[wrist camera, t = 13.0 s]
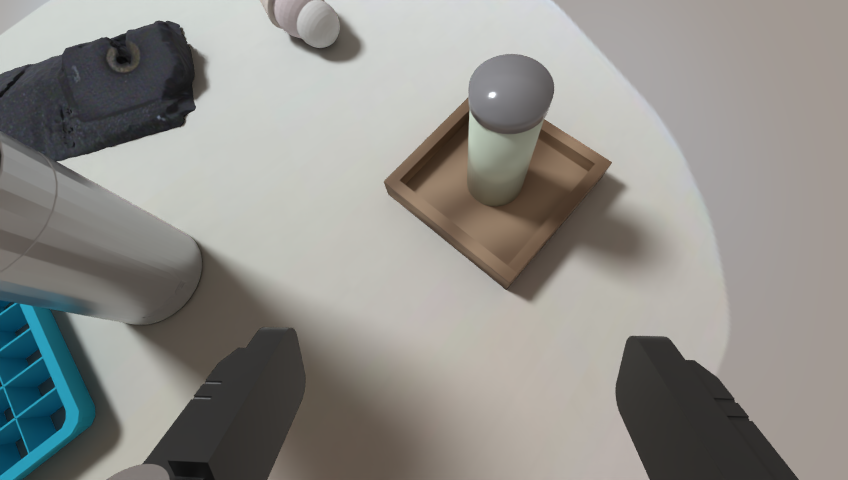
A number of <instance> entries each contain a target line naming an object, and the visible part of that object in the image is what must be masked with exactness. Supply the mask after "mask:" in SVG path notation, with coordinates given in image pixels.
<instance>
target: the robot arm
mask: <svg viewBox="0 0 848 480" xmlns="http://www.w3.org/2000/svg"><path fill="white" fill-rule="evenodd" d="M201 270H202V257H201V253H200V249H199V248H198V246H197V244H196V242H195V241H194V240H193V239H192V238H191V237H190V236H189V235H188V234H186V233H184V232H183V231H181V230H179V229H177V228H175V227H174V226H172V225H170V224H168V223H166V222H165V221H163V220H161V219H159V218H158V217H156V216H154V215H152V214H150V213H149V212H147V211H145V210H143V209H141V208H140V207H138V206H136V205H134V204H132V203H130V202H129V201H127V200H125V199H123V198H121V197H120V196H118V195H116V194H114V193H112V192H110V191H109V190H107V189H105V188H103V187H101V186H100V185H98V184H96V183H94V182H92V181H91V180H89V179H87V178H85V177H83V176H81V175H80V174H78V173H76V172H74V171H72V170H71V169H69V168H67V167H65V166H63V165H61V164H60V163H58V162H56V161H54V160H52V159H51V158H49V157H47V156H45V155H43V154H42V153H40V152H37V151H36V150H34V149H32V148H30V147H28V146H26V145H25V144H23V143H21V142H19V141H17V140H16V139H14V138H12V137H10V136H8V135H6V134H5V133H3V132H1V131H0V300H3V301H8V302H14V303H19V304H25V305H30V306H36V307H41V308H47V309H52V310H58V311H63V312H69V313H74V314H80V315H85V316H91V317H95V318H101V319H106V320H112V321H117V322H123V323H128V324H136V325H147V324H153V323H156V322H159V321H162V320H164V319H166V318H168V317H169V316H171V315H173V314H174V313H175V312H177V311H178V310H179V309H180V308H182V307H183V305H184V304H185V303H186V302H187V301H188V300H189V299H190V297H191V296H192V294H193V292H194V291H195V289H196V287H197V285H198V282H199V280H200V276H201ZM304 390H305V371H304V367H303V362H302V357H301V352H300V348H299V343H298V338H297V334H296V331H295V330H294V329H293V328H274V327H262V328H260V329H259V330H258V331H257V333H256V334H255V336H254V337H253V339H252V340H251V341H250V343H249V344H248V346H247V347H246V348H238V349H236V350H235V351H234V352H232V353H231V354H230V355H228V356H227V357H226V358H224V359H223V360H222V361H221V362H219V363H218V365H217V366H216V367H215V369H214V370H213V371H212V373H211V374H210V375H209V377H208V378H207V379H206V382H205V384H203V385H202V386H201V387H200V389H199V390H198V391H197V392H196V394H195V395H194V399H193V400H190V402H189V403H188V404H187V406H186V407H185V408H184V410H183V411H182V412H181V414H180V415H179V416H178V418H177V419H176V420H175V422H174V423H173V424H172V426H171V427H170V428H169V430H168V431H167V432H166V434H165V435H164V436H163V438H162V439H161V440H160V442H159V443H158V444H157V446H156V447H155V448H154V450H153V451H152V452H151V454H150V455H149V456H148V458H147V459H146V460H145V461H144V463H143V464H142V465H137V466H133V467H130V468H128V469H125V470H123V471H121V472H119V473H117V474H115V475H113V476H111V477H110V478H108V479H107V480H267V479H268V477H269V474H270V472H271V470H272V467H273V465H274V463H275V460H276V458H277V456H278V454H279V451H280V449H281V447H282V444H283V442H284V440H285V438H286V435H287V433H288V431H289V428H290V426H291V424H292V422H293V419H294V417H295V415H296V412H297V410H298V408H299V405H300V403H301V401H302V398H303V395H304ZM616 401H617V406H618V409H619V412H620V415H621V417H622V419H623V421H624V423H625V426H626V428H627V430H628V432H629V434H630V437H631V439H632V441H633V443H634V446H635V448H636V450H637V452H638V454H639V457H640V459H641V461H642V463H643V466H644V468H645V470H646V472H647V474H648V477H649V479H650V480H799V479H798V478H797V477H796V476H795V474H794V473H793V472H792V471H791V469H790V468H789V467H788V465H787V464H786V463H785V462H784V460H783V459H782V458H781V457H780V456H779V454H778V453H777V452H776V450H775V449H774V448H773V447H772V445H771V444H770V443H769V442H768V441H767V439H766V438H765V437H764V435H763V434H762V433H761V432H760V430H759V429H758V428H757V426H756V425H755V424H754V423H753V422H752V421H749V419H748V417H749V416H748V415H747V414H746V413H745V411H744V410H743V409H742V408H741V407H740V405H739V404H738V403H735V401H734V398H733V397H732V395H731V394H730V393H729V391H728V390H727V389H726V388H725V386H724V385H723V384H722V383H721V381H720V380H719V379H718V378H717V377H716V376H715V375H713V374H712V373H711V372H709V371H708V370H707V369H705V368H704V367H703V366H701V365H700V364H699V363H697V362H696V361H695V360H685V359H684V357H683V356H682V355H681V353H680V352H679V351H678V349H677V348H676V347H675V345H674V344H673V343H672V341H671V340H670V339H669V338H667V337H663V336H630V337H629V338H628V339H627V341H626V345H625V349H624V353H623V357H622V361H621V365H620V370H619V374H618V378H617V382H616Z"/></svg>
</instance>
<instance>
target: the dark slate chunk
mask: <svg viewBox="0 0 848 480" xmlns="http://www.w3.org/2000/svg"><path fill="white" fill-rule="evenodd" d="M179 27H180V25H179V24H176V23H173V22H170V21H166V22H163V21H156V22H155V23H154V24H150V25H147V26H143V27H141V28H138V29H135V30H128V31H127V33H125V34H121V35H119V36H116V37H114V38H111V39H109V38H108V37H105V38H100V39H97V40H95V41H92V42H88V43H83V44H79V45H75V46H72V47H69V48H66V49H65V51H64V53H63V54H62V55H59V56H55V57H51V58H49V59H47V60H44V61H42V62H40V63H37V64H29V65H25V66H22V67H18V68H15V69H13V70H11V71H7V72H4V73H2V74H0V131H1V132H3V133H5V134H6V135H8V136H10V137H12V138H14V139H16V140H17V141H19V142H21V143H23V144H25V145H26V146H28V147H30V148H32V149H34V150H36V151H37V152H40V153H42V154H43V155H45V156H47V157H49V158H51V159H52V160H54V161H62V160H65V159H67V158H72V157H77V156H80V155H84V154H89V153H91V152H96V151H99V150H102V149H104V148H106V147H112V146H115V145H118V144H123V143H126V142H128V141H131V140H135V139H139V138H142V137H144V136H148V135H152V134H155V133H158V132H163V131H167V130H170V129H172V128H176V127H180V126H181V125H182V123H183V122H184V119H183V116H184V115H187V114H188V113H189V112H191V111H194V110H195V108H196V106H195V104H194V101H193V91H192V82H193V79H194V65H193V60H192V54H191V50H190V48H189V46H188V45H187V41H185V40H184V35H182V34H181V29H180V28H179Z"/></svg>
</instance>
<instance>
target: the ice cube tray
mask: <svg viewBox="0 0 848 480" xmlns="http://www.w3.org/2000/svg"><path fill="white" fill-rule="evenodd" d="M10 303H11V302H8V301H3V300H0V381H1V384H2V387H0V480H22V479H23V478H25V477H26V476H27V475H29V474H30V473H31V472H32V471H34V470H35V469H36V468H37V467H39V466H40V465H41V464H43V463H44V462H45V461H46V460H48V459H49V458H50V457H51V456H53V455H54V454H55V453H57V452H58V451H59V450H60V449H62V448H63V447H64V446H65V445H67V444H68V443H69V442H71V441H72V440H73V439H74V438H76V437H77V436H78V435H80V434H81V433H82V432H83V431H85V430H86V429H87V428H88V427H90V426H91V425H92V423H93V420H94V418H95V405H94V403H93V401H92V399H91V397H90V394H89V392H88V390H87V388H86V386H85V384H84V381H83V379H82V377H81V375H80V373H79V371H78V368H77V366H76V364H75V362H74V360H73V358H72V356H71V353H70V351H69V349H68V347H67V345H66V343H65V340H64V338H63V336H62V334H61V332H60V330H59V327H58V325H57V323H56V321H55V319H54V317H53V315H52V312H51V310H50V309H47V308H41V307H36V306H30V305H25V304H19V303H14V304H13V305H11V306H10V307H9V308H7V309H5V306H7V305H8V304H10ZM27 323H28V324H29V327H30V328H29V329H28V330H26V331H25V332H23V333H22V334H21V335H19V336H18V337H17V336H16V333H15V332H16V331H17V330H19V329H20V328H22V327H23V326H24V325H26V324H27ZM37 350H40V352H41V354H42V357H41V358H39V359H38V360H37V361H35V362H34V363H33V364H31V365H30V366H29V365H28V362H27V360H26V358H28V357H29V356H30V355H32V354H33V353H34V352H36V351H37ZM50 377H51V378H52V380H53V382H54V384H55V387H54V388H53V389H52V390H51V391H49V392H48V393H47V394H45V395H44V396H43V397H42V396H41V393H40V391H39V389H38V386H39V385H40V384H42V383H43V382H44V381H46V380H47V379H48V378H50ZM62 406H64V408H65V410H66V420H65V422H64V424H63V426H62V428H61V429H60V430H59V431H57V432H56V429H55V427H54V425H53V422H52V420H51V417H50V416H51V415H52V414H53V413H55V412H56V411H57V410H58V409H60V408H61V407H62ZM10 407H11V410H12V412H13V415H14V418H13V419H12V420H11V421H9V422H7V419H6V416H5V414H4V411H6V410H7V409H8V408H10ZM21 438H22V439H23V441H24V444H25V446H26V449H27V452H28V455H26V456H25V457H24V458H23V459H21V456H20V454H19V451H18V448H17V446H16V443H15V442H17V441H18V440H19V439H21Z"/></svg>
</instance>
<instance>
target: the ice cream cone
mask: <svg viewBox="0 0 848 480" xmlns="http://www.w3.org/2000/svg"><path fill="white" fill-rule="evenodd" d="M260 2H261V3H262V5H263V7H264V9H265V11H266V13H267V15H268V17H269V19H270V20H271V22H272V23H273V24H274V25H275V26H276V27H278V28H282V29H283V30H284V31H286V32H287V33H288V34H290V35H292V36H294V37H297V38H302V39H303V40H304V41H305V42H306V43H307V44H309V45H311V46H313V47H316V48H324V47H328V46H330V45H331V44H332V43H334V42H335V40H336V39H337V37H338V34H339V29H340V24H339V19H338V16H337V14H336V12H335V11H334V9H333V8H332V7H331V6H330V5H329V4H327V3H326V2H324V0H260Z"/></svg>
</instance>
